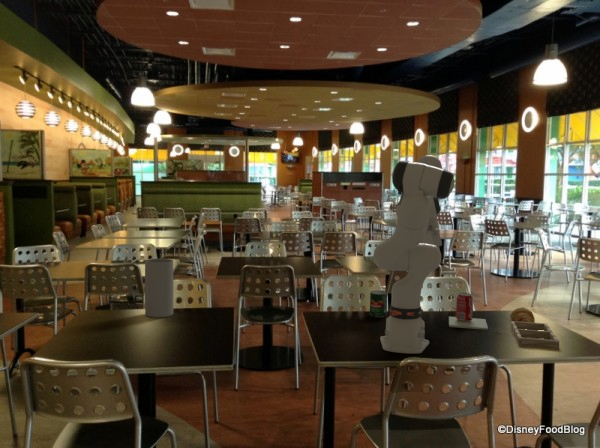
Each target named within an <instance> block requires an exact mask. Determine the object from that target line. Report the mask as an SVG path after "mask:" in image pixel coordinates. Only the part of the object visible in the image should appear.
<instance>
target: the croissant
mask: <svg viewBox="0 0 600 448" xmlns="http://www.w3.org/2000/svg"><path fill="white" fill-rule="evenodd" d="M509 317H510V320H511V321H518V322H531V323H536V322H535V316H534V313H533V312H532V311H531V310H530V309H528V308H526V307H518V308H515V309H513V311H512V312H511V313H510V315H509Z"/></svg>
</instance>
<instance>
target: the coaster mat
mask: <svg viewBox="0 0 600 448" xmlns="http://www.w3.org/2000/svg"><path fill="white" fill-rule="evenodd" d="M448 327H449V328H460V329H461V328H462V329H474V330H484V331H487V330H489V328H488V324H487V320H486V318H475V317H474V318H473V317H472V320H471V321H469V322H462V321H459V320H458V319H457V318H456V316H448Z"/></svg>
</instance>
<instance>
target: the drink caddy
mask: <svg viewBox="0 0 600 448" xmlns="http://www.w3.org/2000/svg"><path fill="white" fill-rule="evenodd" d="M510 329H511V332H512V334H513V336H514V338H515V342H516V343H517V345H519V346H520V347H528V346H529V347H530V348H540V347H542V348H541V349H551V348H556V349H555V350H560V340H559V338H558V337H557V336H556V335H555V333H554V331H552V329H551V327H550V326H549V325H548V323H543V322H534V323H531V322H518V321H512V320H511V321H510ZM525 329H527V330H525ZM538 330H544V331H538ZM525 337H529V338H525ZM538 338H544V339H538ZM549 339H550V340H549ZM519 346H518V347H519Z"/></svg>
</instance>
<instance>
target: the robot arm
mask: <svg viewBox="0 0 600 448" xmlns="http://www.w3.org/2000/svg"><path fill="white" fill-rule="evenodd" d="M391 180H392V181H391V182H392V184H393V187H394V189H396V190H397V194H398V195H400V198H399V201H398V202H397V204H396V206H395V215H396V218H397V221H396V226H395V230H394V232H393V233H392V235H391V236H390V237H389V238H388V239H386V240H384V241H383V242H381V243H379V244H378V245H376V247H375V249H374V251H373V261H374V263H375V265H376V266H377V267H378V269H381V270H385V271H386V270H387V271H392V272H393V271H395V272H396V271H400V272H403V271H406V272H407V274H406V276H405V277H404V278H401V279H399V280H397V281H395V282H394V283H393V284H392V286H391V303H390V306H389V316H388V317H386V319H385V320H386V321H385V330H384V332H383V333H384V334H385V335H383V336H382V335H381V336H380V338H379V339H380V343H381V347H382V350H384V351H387V352H392V353H399V354H421V353H423V351H424V350H425V349H426V348H427V347H428V346H429V344H430V341H429V340H428V339H425V335H426V333H425V331H426V327H425V325H426V324H425V321H424V320H423V318H422V307H421V299H422V297H421V296H422V289H423V284H424V283H425V282H426V281H425V280H427V278H428V276H429V275H431V273H433V272H434V271H436V270H437V268H439V266H440V264H441V262H442V252H441V250H440V247H442V246H443V244H442V243H443V241H442V238H441V235H440V232H439V228H440V225H439V221H438V217H437V216H438V215H440V214H439V213H440V212H441V210H442V208H441V205H440V199H447V198H448V197H449V196H450V194H452V192H453V190H454V188H455V175H454V174H453V173H452V171H450V170H448V169H446V168H443V165H442V163H441V161H440V159H439V158H438V157H437V156H436V155H431V154H427V155H423V156H422V157H420V158H419V159H418V160H417V162H414V161H410V160H399V161H398V162H397V163H396V164H395V166H394V168H393V170H392V174H391Z"/></svg>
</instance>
